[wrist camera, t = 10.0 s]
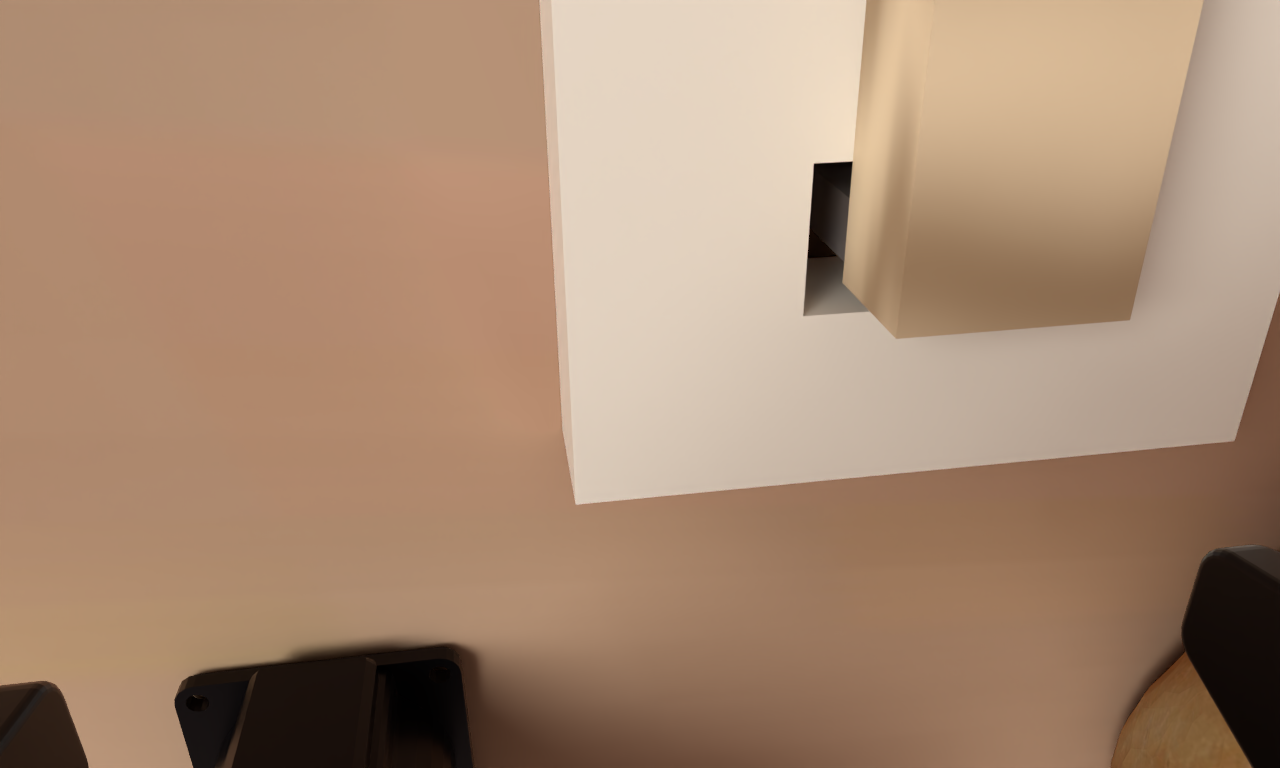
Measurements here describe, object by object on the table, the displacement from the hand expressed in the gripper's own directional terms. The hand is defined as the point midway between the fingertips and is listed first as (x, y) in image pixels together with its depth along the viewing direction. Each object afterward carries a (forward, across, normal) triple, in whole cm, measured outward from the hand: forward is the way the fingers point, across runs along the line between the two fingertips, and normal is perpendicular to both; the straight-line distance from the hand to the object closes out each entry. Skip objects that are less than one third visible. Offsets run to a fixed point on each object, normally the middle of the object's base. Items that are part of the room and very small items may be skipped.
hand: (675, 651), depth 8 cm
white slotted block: (+13, -7, 0) cm, 15 cm away
